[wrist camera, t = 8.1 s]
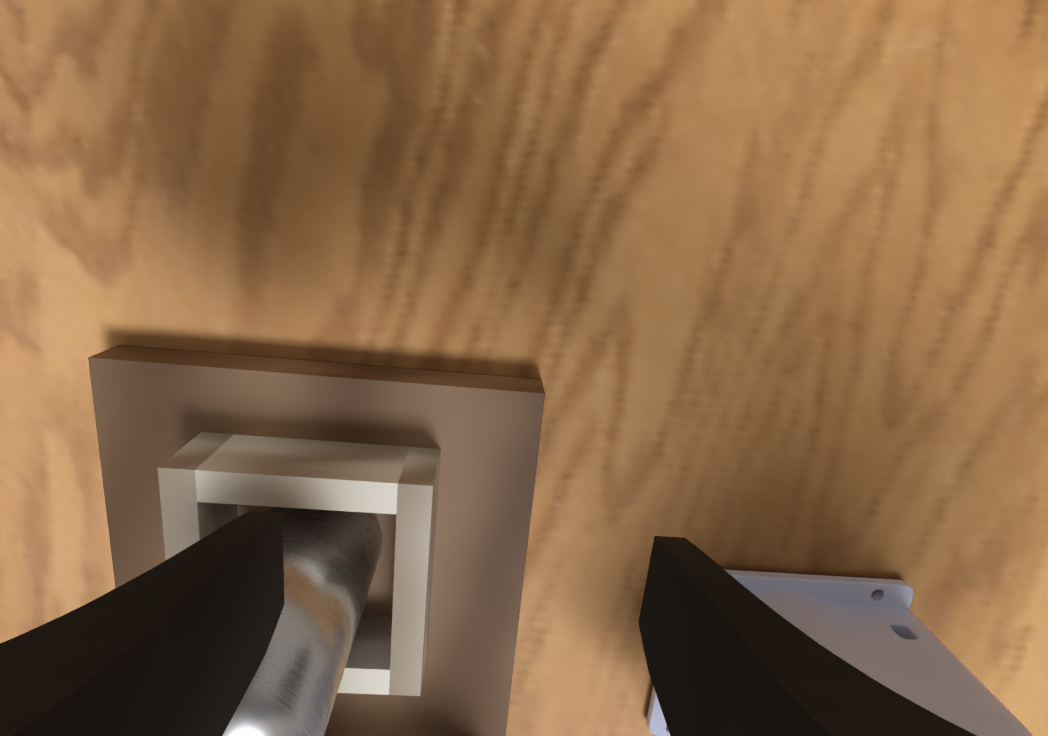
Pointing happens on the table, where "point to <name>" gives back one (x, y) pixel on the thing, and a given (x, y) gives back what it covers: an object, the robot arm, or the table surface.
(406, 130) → the table surface
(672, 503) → the table surface
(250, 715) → the steel peg
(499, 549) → the socket stand
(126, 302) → the table surface
